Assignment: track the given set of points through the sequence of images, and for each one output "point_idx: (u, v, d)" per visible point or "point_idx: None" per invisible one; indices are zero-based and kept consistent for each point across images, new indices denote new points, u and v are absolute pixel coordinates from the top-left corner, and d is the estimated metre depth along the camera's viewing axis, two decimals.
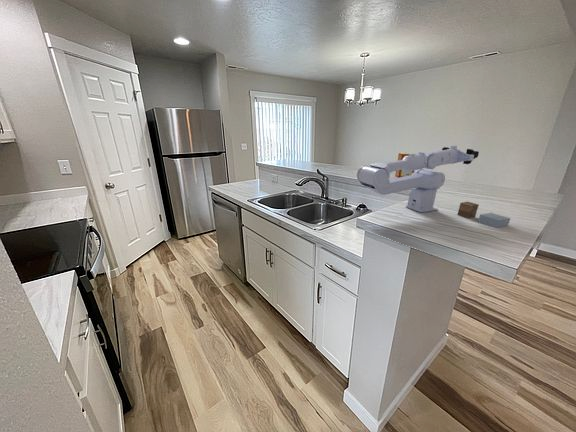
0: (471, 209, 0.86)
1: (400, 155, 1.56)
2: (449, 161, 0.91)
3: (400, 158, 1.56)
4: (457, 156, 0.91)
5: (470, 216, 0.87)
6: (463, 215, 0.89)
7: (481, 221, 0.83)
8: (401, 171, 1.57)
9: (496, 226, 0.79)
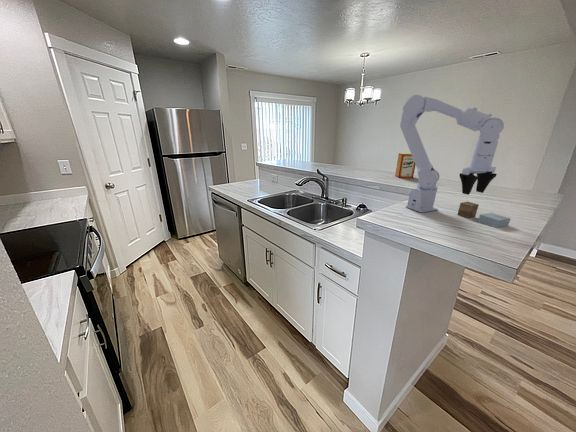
0: (471, 209, 0.86)
1: (400, 155, 1.56)
2: (474, 155, 0.82)
3: (400, 158, 1.56)
4: (475, 166, 0.82)
5: (470, 216, 0.87)
6: (463, 215, 0.89)
7: (481, 221, 0.83)
8: (401, 171, 1.57)
9: (496, 226, 0.79)
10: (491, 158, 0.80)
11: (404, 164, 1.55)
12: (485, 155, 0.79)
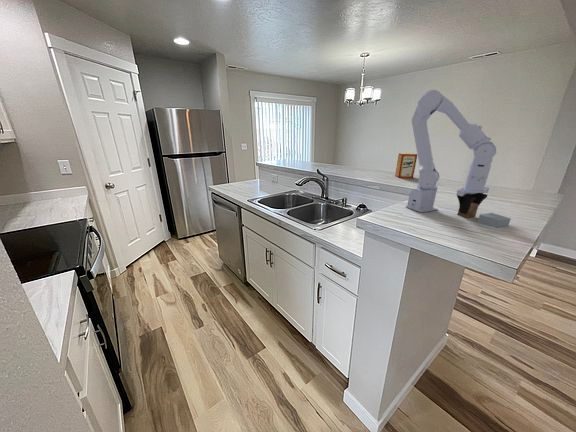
0: (471, 209, 0.86)
1: (400, 155, 1.56)
2: (468, 177, 0.85)
3: (400, 158, 1.56)
4: (469, 188, 0.85)
5: (470, 216, 0.87)
6: (463, 215, 0.89)
7: (481, 221, 0.83)
8: (401, 171, 1.57)
9: (495, 226, 0.79)
10: (484, 180, 0.82)
11: (404, 164, 1.55)
12: (479, 177, 0.82)
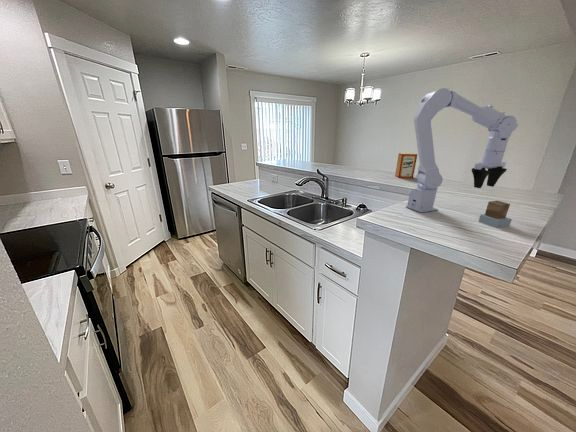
0: (501, 209, 0.78)
1: (400, 155, 1.56)
2: (486, 151, 0.87)
3: (400, 158, 1.56)
4: (486, 162, 0.87)
5: (499, 216, 0.79)
6: (491, 215, 0.81)
7: (481, 221, 0.83)
8: (401, 171, 1.57)
9: (495, 226, 0.79)
10: (502, 154, 0.85)
11: (404, 164, 1.55)
12: (496, 151, 0.85)
